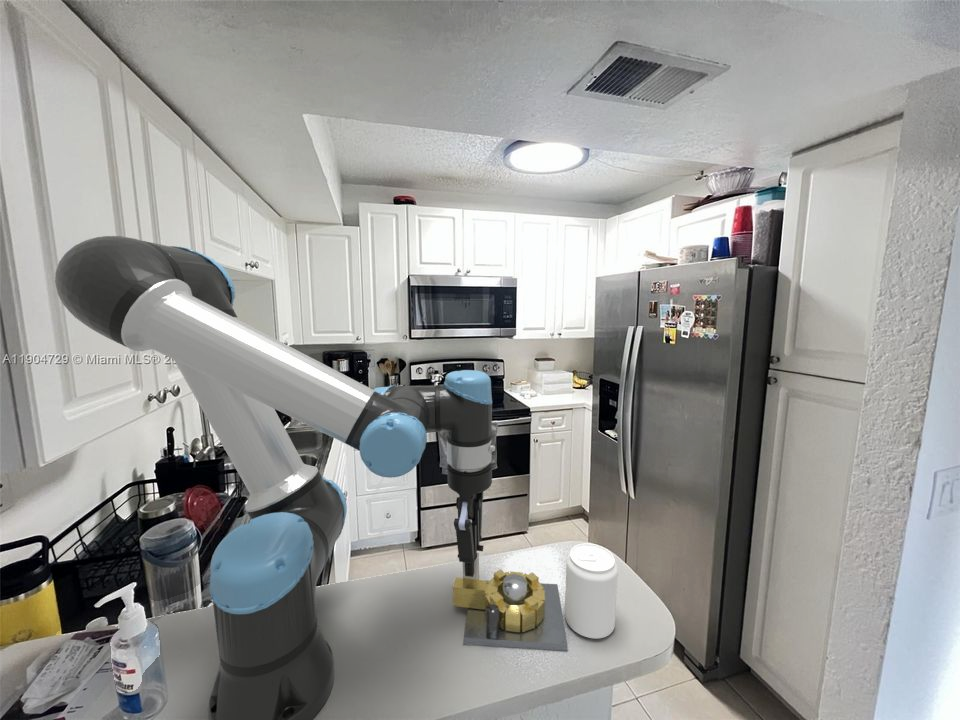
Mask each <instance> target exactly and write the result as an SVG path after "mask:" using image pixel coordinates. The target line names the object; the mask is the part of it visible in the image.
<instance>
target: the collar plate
mask: <svg viewBox="0 0 960 720" xmlns="http://www.w3.org/2000/svg"><path fill="white" fill-rule="evenodd" d="M486 581H487V584H488V582H489V581H490V580H486ZM539 583H540V584H541V585H542V587H543V588H544V590H545V610H544V618H543V619H542V621H541V622H540V623H539V625H538V626H537V627H536V626H535V628H533V629H530V630H527V631H524V632H522V631H521V629H520V632H512V631H506V628H505V629H504V630H503V629H501V628H499V607H498V606H497V605H495V604H490V605H488V606H487V608H486V612H485V610H483V609H475V608H467V612H466V614H467V615H466V621H465V627H464V636H463V645H465V646H466V645H467V646H483V647H496V648H510V649H511V648H512V649H529V650H546V651H559V652H561V651H562V652H567V651H568V639H567V633H566V632H567V631H566V627H565V621H564V615H563V614H564V613H563V609H562V604H561V597H560V593H559V586H558V583H544V582H543V583H542V582H539ZM503 598H504V600H503V602H505V603H507V604H509V605H517V606H519V605H523V604H524V600H525V599H527V581H526V579H525V578H524V577H523V576H521V575H517V574H511V575H508V576H506V577H505V578H504V580H503Z"/></svg>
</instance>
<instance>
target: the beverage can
mask: <svg viewBox="0 0 960 720" xmlns="http://www.w3.org/2000/svg"><path fill="white" fill-rule="evenodd" d="M565 565H566V566H565V593H564V594H565V595H564V596H565V597H564V598H565V599H564V618H565V620H566V622H567V624H568V627H570V628H571V629H572V630H573V631H574V632H576V634H579V635H580V636H582V637H586V638H589V639H597V640H598V639H602V638H606V637H608V636H610V635H611V634H612V633H613V632H614V629H615V627H616V609H617V608H616V607H617V594H618V592H617V591H618V590H617V588H618V575H619V574H618V573H619V572H618V571H619V569H618V565H617V563H616V560H615V556H614V554H613V553H612V552H611V551H610V550H609V549H607V548H606V547H603V546H601V545H599V544H594V543H589V542H588V543H587V542H585V543H584V542H583V543H578V544H576V545H574V546H573V547H572V548H571V549H570V551H569V553H568V555H567V557H566V564H565Z"/></svg>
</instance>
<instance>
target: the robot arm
mask: <svg viewBox="0 0 960 720" xmlns="http://www.w3.org/2000/svg"><path fill="white" fill-rule="evenodd" d="M54 275H55V276H54V279H55V280H54V283H55V287H56V288H55V289H56V292H57V295H58V297H59V299H60V302H61V303H62V305H63V306H64V307H65V308H66V309H67V310H68V312H69V313H71V315H72V316H73V317H74V318H75V319H77V321H79V322H80V323H82V324H83V325H85V326H86V327H88V328H89V329H91V330H93V331H94V332H95V333H98V334H100V335H101V336H103V337H105V338H107V339H109V340H111V341H113V342H115V343H118V344H120V345H122V346H123V347H126V348H127V349H130V350H131V351H134V352H147V351H150V350H153V351H155V352H157V353H160V354H162V355H164V356H166V357H167V358H170V359H172V360H173V361H174V362H175V364H176V366H177V368H178V369H179V372H180V373H181V375H182V377H183V378H184V380H185V382H186V384H187V385H188V387H189V389H190V390H191V392H192V394H193V396H194V398H195V400H196V401H197V403H198V404H199V406H200V409H201V411H202V412H203V414H204V415H205V417H206V419H207V421H208V422H209V425H210V426H211V428H212V429H213V431H214V433H215V435H216V436H217V438H218V441H220V443H221V445H222V447H223V449H224V450H225V452H226V454H227V456H228V458H229V460H230V461H231V462H232V464H233V466H234V469H235V470H236V471H237V473H238V475H239V477H240V479H241V481H242V483H244V485H245V487H246V489H247V491H248V492H249V496H248V499H247V502H246V503H245V507H244V509H245V511H246V513H247V514H248V516H249V517H250V520H249V522H248V523H247V524H245V523H243V524H240V525H238V526H237V527H235V528H234V529H232V530H231V531H230V532H229V533H228V534H226V536H225V537H223V539H222V540H221V541H220V542H219V544H218V545H217V547H215V550H214V552H213V554H212V557H211V561H210V568H209V569H210V576H209V593H210V596H211V599H212V600H211V601H212V606H213V613H214V614H213V615H214V621H215V624H214V625H215V631H216V639H217V641H216V642H217V648H218V654H219V665H218V669H217V673H216V675H215V680H214V683H213V687H212V691H211V693H210V698H209V703H208V710H207V711H208V720H313V719H314V718H315V717H316V716H317V714H318V713H319V712H320V711H321V709H322V708H323V706H324V705H325V703H326V702H327V700H328V698H329V696H330V694H331V692H332V689H333V685H334V680H335V665H334V655H333V651H332V649H331V646H330V645H329V643H328V641H327V640H326V639H325V637H324V635H323V632H322V631H321V628H320V626H319V624H318V610H317V597H316V596H317V595H316V593H317V592H316V588H317V583H318V580H319V578H320V575H321V573H322V572H323V570H324V567H325V565H326V563H327V561H328V560H329V557H330V556H331V553H332V551H333V549H334V547H335V544H336V542H337V541H338V539H339V538H340V536H341V534H342V531H343V529H344V526H345V522H346V521H345V520H346V517H347V512H348V511H347V509H348V507H347V506H348V505H347V500H346V497H345V495H344V492H343V491H342V489H341V487H340V486H339V485H338V484H337V482H335V481H333V480H332V479H327V478H326V477H325V476H322V474H321V472H320V471H319V468H318V467H317V466H313V465H310V464H306V463H304V462H303V460H302V458H301V456H300V455H299V452H298V450H297V449H296V447H295V445H294V443H293V442H292V439H291V437H290V436H289V434H288V432H287V430H286V428H285V426H284V424H283V423H282V421H281V419H280V417H279V415H278V413H277V411H278V412H280V413H282V414H284V415H287V416H289V417H290V418H292V419H294V420H297V421H298V422H301V423H303V424H305V425H307V426H309V427H311V428H313V429H315V430H317V431H319V432H321V433H323V434H325V435H327V436H329V437H331V438H333V439H335V440H337V441H339V442H341V443H344V444H345V445H347V446H350V447H351V448H353V449H354V450H357V451H359V455H360V459H361V460H362V462H363V464H364V466H365V467H366V468H367V469H368V471H370V472H371V473H373V474H375V475H376V476H379V477H382V478H389V479H390V478H399V477H402V476H405V475H406V474H409V473H410V472H411V471H413V470H414V469H415V467H416V466H417V465H418V464H419V463H420V461H421V458H422V456H423V454H424V451H425V450H426V444H427V442H428V435H427V434H428V433H438V432H439V433H440V432H445V433H446V463H447V465H446V468H447V469H446V473H447V485H448V488H449V489H450V490H452V491H453V492H454V493H457V495H458V496H457V497H456V500H455V502H456V503H455V504H456V505H455V507H456V509H457V518H454V520H453V527H454V530H455V536H456V544H457V553H458V554H457V558H458V561H459V563H462V578H465V579H474V580H480V553H479V552H483V551H484V545H480V542H481V541H482V526H483V523H482V522H483V501H484V492H485V491H488V489H489V488H490V487H492V483H493V465H492V463H491V462H492V459H493V458H492V456H493V455H492V453H493V452H494V451H496V445H493V444H492V442H493V441H492V437H493V436H492V432H493V431H492V430H493V429H492V428H493V426H492V425H493V424H492V423H493V422H492V421H493V397H492V379H491V377H490V376H489V374H488V373H486V372H484V371H481V370H475V369H474V370H473V369H463V370H462V369H461V370H455V371H454V370H453V371H451V372H449V373H447V374H446V375H445V380H444V382H443V384H439V385H394V384H393V385H390V386H382V387H381V386H380V387H375V388H374V389H372V388H371V387H369V386H367V385H365V384H362V383H361V382H359V381H357V380H355V379H354V378H351V377H349V376H347V375H345V374H344V373H342V372H340V371H338V370H336V369H334V368H332V367H330V366H328V365H326V364H325V363H322V362H321V361H318V360H317V359H315V358H313V357H311V356H310V355H307V354H305V353H303V352H301V351H300V350H297V349H295V348H294V347H291V346H290V345H288V344H287V343H284V342H281V341H280V340H278V339H277V338H274V337H273V336H270V335H268V334H266V333H264V332H262V331H261V330H258V329H257V328H255V327H253V326H251V325H250V324H248V323H245V322H244V321H241V320H240V319H239V318H238V315H237V314H236V312H235V310H234V308H233V307H234V300H235V299H236V290H235V285H234V282H233V280H232V278H231V276H230V274H229V273H228V271H227V270H226V269H225V267H223V266H222V265H221V264H220V263H219V262H218V261H216V260H214V258H212V257H210V256H208V255H206V254H204V253H200V252H198V251H196V250H193V249H191V248H188V247H182V246H174V245H173V246H172V245H171V246H169V245H164V244H159V243H156V242H155V243H154V242H150V241H145V240H140V239H137V238H133V237H126V236H120V235H104V236H97V237H94V238H89V239H85V240H84V241H81V242H80V243H78V244H75V245H74V246H73V247H71V248H70V249H69V250H68V251H66V252H65V253H64V254H63V256H62V257H61V259H60V260H59V262H58V264H57V267H56V270H55V273H54ZM491 444H492V445H491Z"/></svg>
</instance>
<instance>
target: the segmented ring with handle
mask: <svg viewBox="0 0 960 720" xmlns="http://www.w3.org/2000/svg"><path fill="white" fill-rule="evenodd" d="M511 574H517V575H521V576H523V577H524V578H525V579H526V581H527V599H525V600H524V604H523V605H519V606H517V605H509V604H507V603H505V602H503V600H504V598H503V580H504V578H505V577H506V576H508V575H511ZM539 579H540V578H539V576H537V575H536V574H535V573H533V572H531V573H530V572H529V574H528V573H523V572H520V571H510V572H509V571H506V572H504V571H503V570H502V569H501V568H500V569H499V570H497V571H495V572H493V577H492V578H491V579H490V580H483V579H479V580H474V579H465V578H463V577H455V580H454V583H453V585H452V586H453V587H452V599H453V600H452V601H453V602H452V606H453V607H459V608H467V609H468V608H475V609H483V610H485V612H486V608H487V606H488V605H490V604H495V605H497V606H498V607H499V628H501V629H503V630H504V629H505V628H506V631H512V632H520V629H521V631H522V632H524V631H527V630H530V629H533V628H535V626H536V627H537V626H538V625H539V623H540V622H541V621H542V619H543V618H544V610H545V590H544V588H543V587H542V585H541V584H540V583H541V582H540V581H539ZM487 581H489V582H488V584H487Z"/></svg>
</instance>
